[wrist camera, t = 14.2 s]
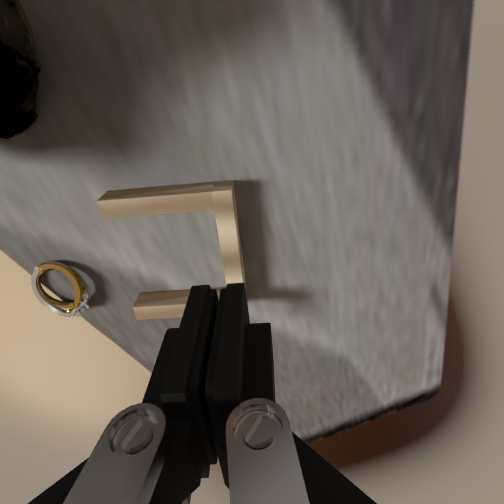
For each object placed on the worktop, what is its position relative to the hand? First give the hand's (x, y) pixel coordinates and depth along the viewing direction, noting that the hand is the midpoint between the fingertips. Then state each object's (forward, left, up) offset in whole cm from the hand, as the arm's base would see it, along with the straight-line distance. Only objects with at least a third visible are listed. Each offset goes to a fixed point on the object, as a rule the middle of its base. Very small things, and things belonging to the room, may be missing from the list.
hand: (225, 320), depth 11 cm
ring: (+12, -28, -27) cm, 40 cm away
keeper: (+12, -10, -27) cm, 31 cm away
